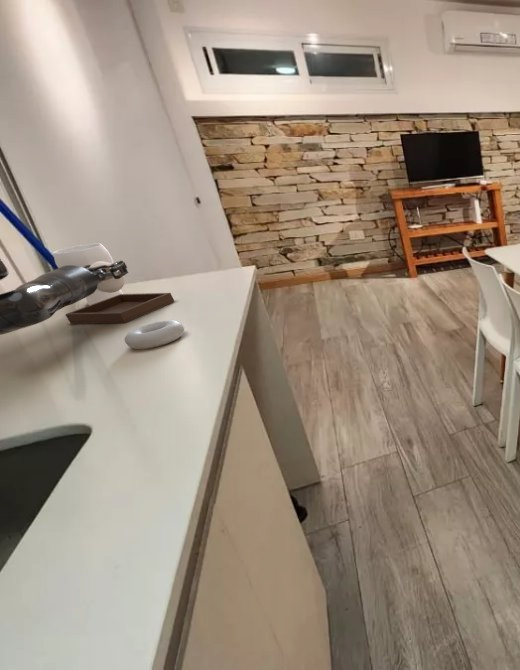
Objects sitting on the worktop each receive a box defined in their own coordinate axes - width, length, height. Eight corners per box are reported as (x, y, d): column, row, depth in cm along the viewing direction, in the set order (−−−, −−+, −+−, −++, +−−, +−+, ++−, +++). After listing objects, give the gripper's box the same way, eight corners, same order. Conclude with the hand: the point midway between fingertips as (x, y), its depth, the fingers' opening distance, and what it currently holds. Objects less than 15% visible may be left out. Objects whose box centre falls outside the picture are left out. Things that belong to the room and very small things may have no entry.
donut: (140, 356, 98) (195, 335, 105) (131, 341, 96) (188, 321, 104) (122, 347, 103) (175, 328, 110) (113, 333, 101) (168, 314, 109)
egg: (132, 290, 120) (116, 260, 117) (98, 298, 116) (81, 267, 113) (128, 286, 124) (113, 256, 121) (95, 293, 120) (79, 263, 117)
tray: (70, 323, 118) (64, 314, 116) (124, 302, 130) (120, 294, 129) (125, 322, 116) (119, 313, 115) (174, 301, 128) (170, 292, 127)
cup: (132, 290, 139) (106, 240, 133) (130, 299, 132) (102, 247, 125) (83, 301, 133) (53, 249, 127) (78, 311, 126) (46, 256, 119)
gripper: (94, 265, 105) (133, 247, 120) (12, 276, 102) (63, 256, 116) (111, 296, 109) (148, 276, 123) (33, 308, 105) (80, 285, 119)
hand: (106, 266), depth 120 cm, fingers closed on egg, 6 cm apart
